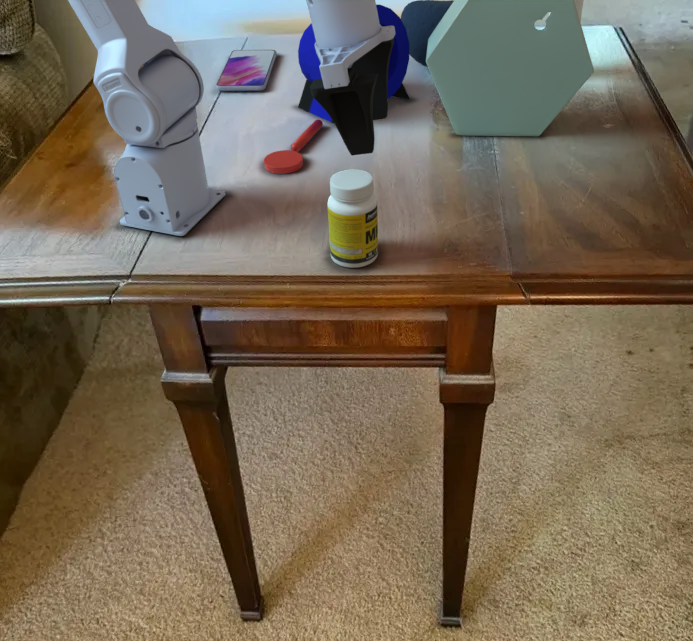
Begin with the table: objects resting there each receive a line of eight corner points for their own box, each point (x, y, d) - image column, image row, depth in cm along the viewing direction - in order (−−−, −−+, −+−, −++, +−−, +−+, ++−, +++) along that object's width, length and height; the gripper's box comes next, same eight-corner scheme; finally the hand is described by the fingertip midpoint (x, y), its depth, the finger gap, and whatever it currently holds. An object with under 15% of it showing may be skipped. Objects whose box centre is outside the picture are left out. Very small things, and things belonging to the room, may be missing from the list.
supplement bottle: (373, 271, 73) (372, 193, 68) (325, 267, 74) (320, 190, 68) (382, 244, 76) (380, 168, 71) (336, 240, 77) (331, 165, 72)
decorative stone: (492, 75, 110) (498, 3, 104) (413, 86, 108) (414, 13, 102) (464, 48, 119) (468, -19, 113) (390, 58, 117) (390, -11, 111)
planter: (508, 143, 103) (618, 9, 91) (511, 170, 97) (629, 30, 85) (403, 75, 99) (504, -75, 87) (399, 98, 93) (507, -59, 81)
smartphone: (277, 49, 120) (264, 86, 108) (277, 54, 120) (265, 92, 109) (231, 49, 120) (214, 86, 108) (232, 55, 121) (214, 92, 109)
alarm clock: (347, 129, 98) (341, 8, 88) (288, 103, 105) (277, -12, 96) (414, 101, 104) (415, -15, 94) (354, 78, 111) (350, -32, 102)
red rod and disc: (293, 176, 88) (292, 167, 88) (257, 171, 90) (256, 161, 89) (336, 128, 98) (336, 119, 97) (304, 124, 100) (303, 115, 99)
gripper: (367, -3, 57) (400, 164, 65) (396, -47, 68) (421, 99, 76) (279, 14, 59) (321, 173, 67) (321, -32, 70) (353, 109, 78)
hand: (369, 135), depth 71 cm, fingers open, 7 cm apart
